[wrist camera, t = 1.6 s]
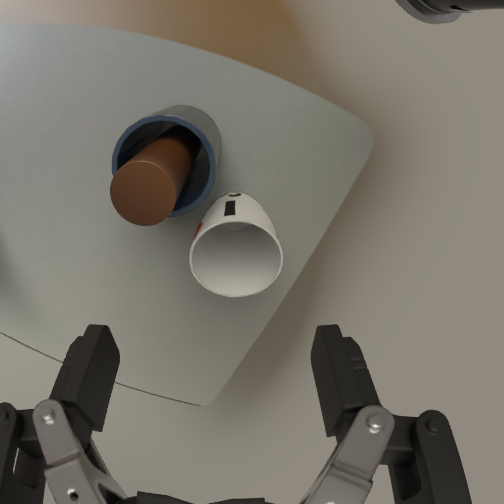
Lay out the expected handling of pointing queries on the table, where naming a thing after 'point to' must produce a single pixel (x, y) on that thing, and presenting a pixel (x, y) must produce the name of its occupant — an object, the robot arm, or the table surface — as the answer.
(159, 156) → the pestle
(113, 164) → the crock
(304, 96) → the table surface
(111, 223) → the table surface
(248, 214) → the cup
